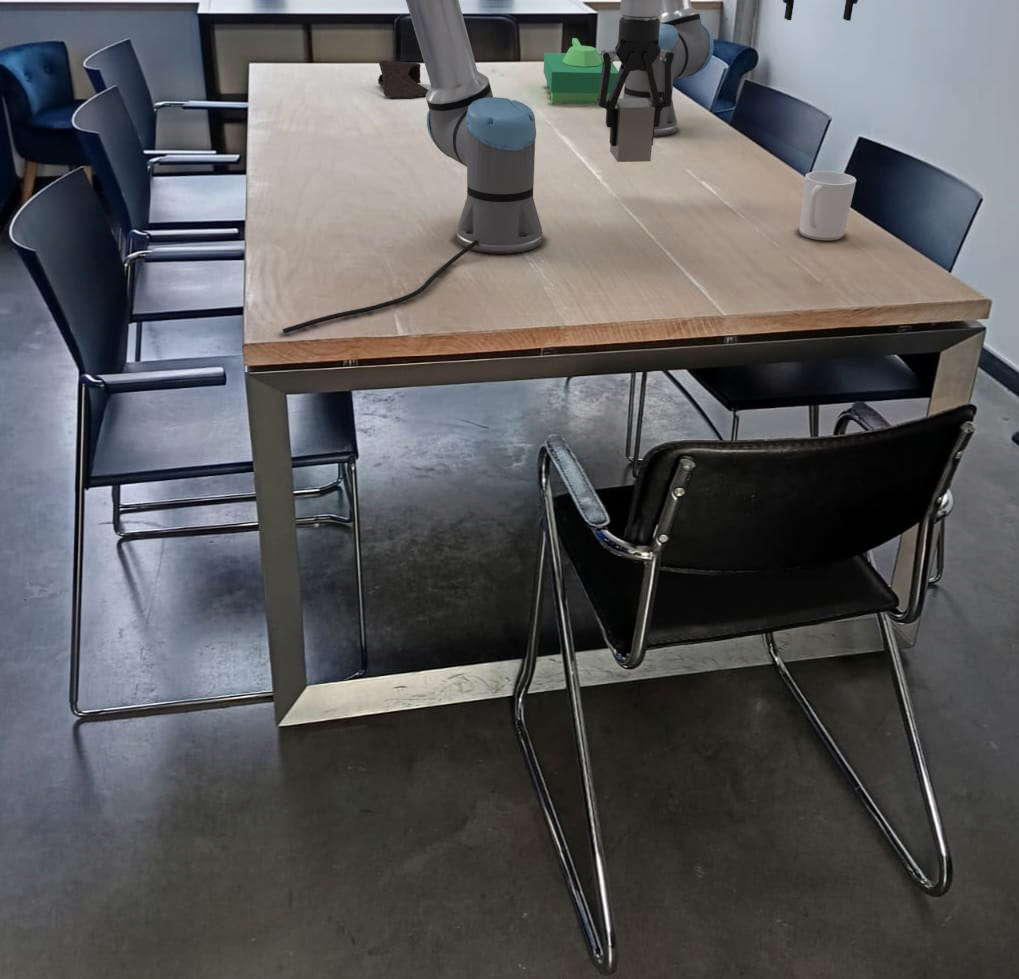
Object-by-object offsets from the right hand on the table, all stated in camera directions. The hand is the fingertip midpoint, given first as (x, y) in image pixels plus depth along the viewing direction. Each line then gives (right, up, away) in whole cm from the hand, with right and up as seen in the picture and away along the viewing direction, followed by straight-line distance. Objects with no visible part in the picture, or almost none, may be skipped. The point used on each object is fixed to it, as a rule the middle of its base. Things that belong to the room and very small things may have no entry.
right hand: (817, 19), depth 244 cm
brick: (-45, -40, -30) cm, 67 cm away
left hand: (-45, -38, -31) cm, 66 cm away
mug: (-12, -58, -43) cm, 73 cm away
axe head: (-98, +4, +56) cm, 113 cm away
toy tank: (-50, +5, +59) cm, 77 cm away
